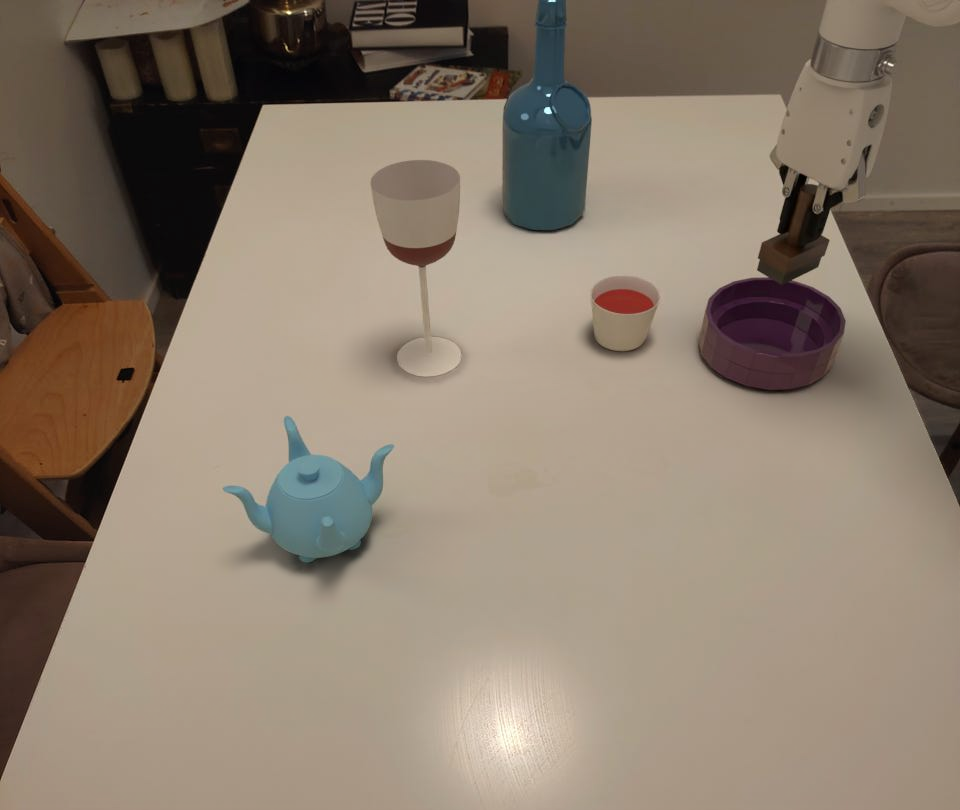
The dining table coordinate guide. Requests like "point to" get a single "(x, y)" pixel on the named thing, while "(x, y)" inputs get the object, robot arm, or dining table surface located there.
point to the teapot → (316, 501)
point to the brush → (792, 245)
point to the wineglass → (420, 242)
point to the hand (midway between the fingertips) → (798, 234)
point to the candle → (623, 311)
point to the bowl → (771, 333)
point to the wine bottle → (546, 135)
